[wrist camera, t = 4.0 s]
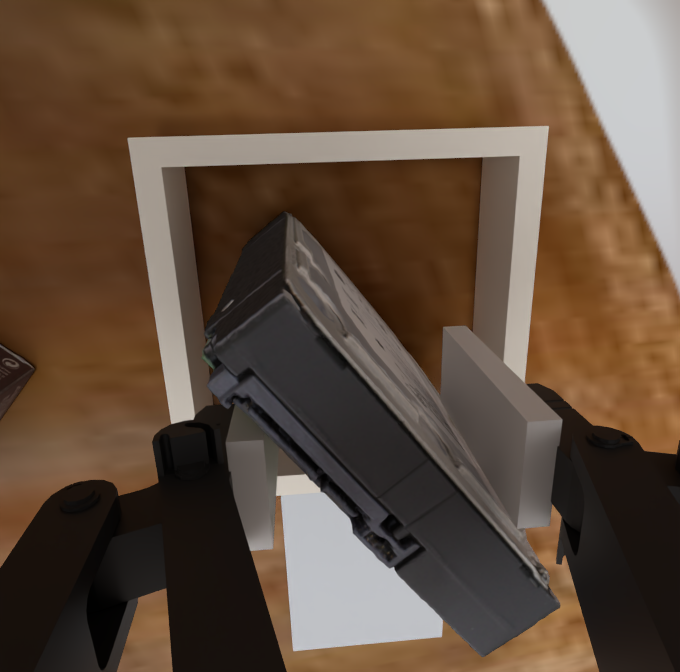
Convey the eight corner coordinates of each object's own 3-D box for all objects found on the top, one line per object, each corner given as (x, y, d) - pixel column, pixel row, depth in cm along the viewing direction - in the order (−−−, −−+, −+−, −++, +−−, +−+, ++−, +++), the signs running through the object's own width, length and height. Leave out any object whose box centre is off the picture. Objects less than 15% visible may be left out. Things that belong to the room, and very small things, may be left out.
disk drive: (427, 366, 26) (580, 611, 12) (383, 399, 26) (481, 673, 12) (292, 201, 23) (284, 271, 9) (244, 242, 23) (164, 370, 9)
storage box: (156, 141, 21) (127, 137, 18) (506, 131, 22) (549, 125, 19) (199, 453, 26) (183, 502, 23) (485, 434, 27) (515, 477, 24)
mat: (279, 473, 27) (279, 478, 27) (447, 460, 28) (449, 466, 27) (293, 643, 31) (293, 651, 31) (439, 629, 32) (441, 636, 31)
